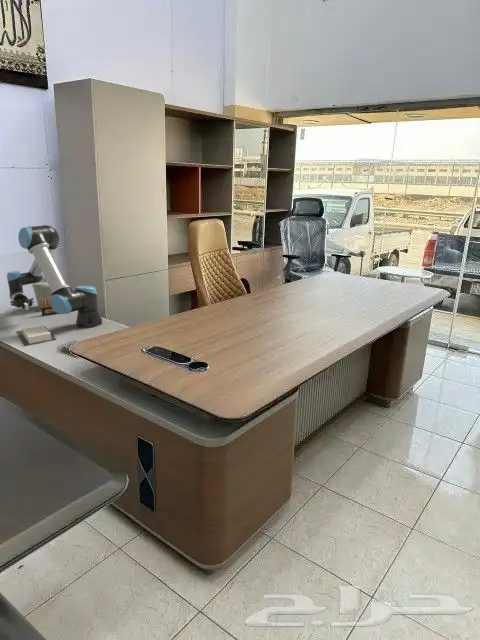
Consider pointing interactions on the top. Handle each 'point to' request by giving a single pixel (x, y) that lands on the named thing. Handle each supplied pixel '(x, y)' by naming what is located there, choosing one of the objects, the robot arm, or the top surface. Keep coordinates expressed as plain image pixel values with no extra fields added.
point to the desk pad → (25, 342)
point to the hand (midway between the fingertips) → (27, 307)
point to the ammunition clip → (47, 306)
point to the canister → (42, 291)
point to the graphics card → (65, 346)
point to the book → (36, 334)
